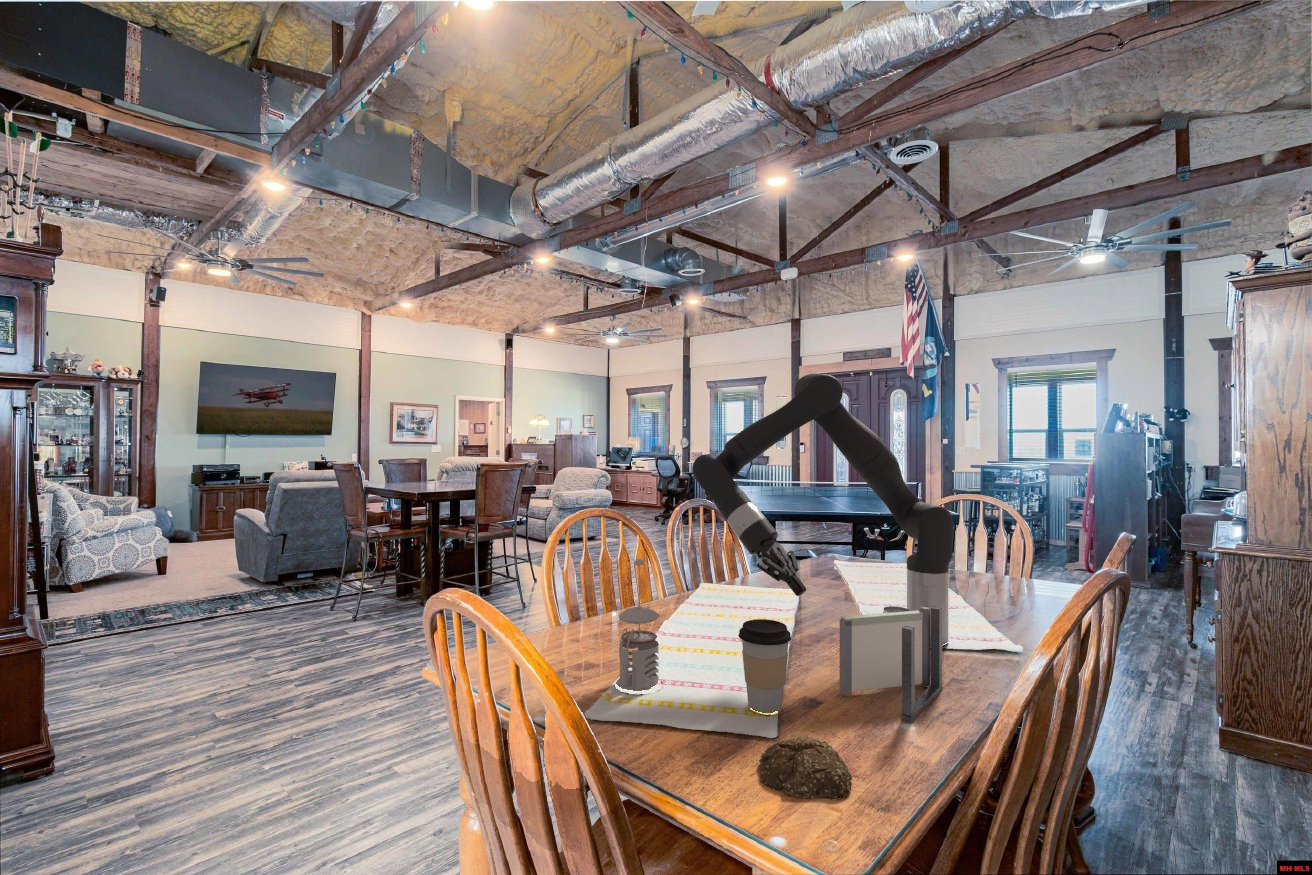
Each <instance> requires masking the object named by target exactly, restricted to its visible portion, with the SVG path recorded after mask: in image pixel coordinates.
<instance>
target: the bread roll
mask: <svg viewBox="0 0 1312 875" xmlns="http://www.w3.org/2000/svg"><path fill="white" fill-rule="evenodd" d="M759 764H760V768H761V772H760V780H761V782H762V784H764V785H765V786H766V787H769V788H770V789H773V790H775V791H778V792H779V791H782V792H784V793H785V795H787V796H790V797H792V796H793V797H792V798H797V797H798V798H797V799H799V798H801V799H804V798H805V800H815V799H829V800H832V799H838V798H840V797H843V798H845V796H846V797H847V796H849V794H850V793H851V791H852V786H853V783H852V779H853V775H852V774H851V772H850V771H849V767H848V766H847V764H845V761H844V760H843V758H842V756H840V754H839V752H838V751H837V750H835V748H833V745H830V744H828V742H827V741H821V740H818V739H817V738H813V737H809V736H797V737H791V738H787V739H783V740H778V741H777V742H776V743H772V744H771V745H769V746H768V747H767V748H766V749H765V750H764V752H762V753H761V756H760V759H759ZM840 799H841V798H840ZM838 800H839V799H838Z"/></svg>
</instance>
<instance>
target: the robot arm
mask: <svg viewBox="0 0 1312 875" xmlns="http://www.w3.org/2000/svg"><path fill="white" fill-rule="evenodd" d="M842 386H843V385H842V383H841V382H840V381H839V379H837V378H836V377H835V376H833V375H830V374H827V373H809V374H806V375H804V376H801V377H800V378H799V379H798V380H797V381H796V382H795V385H794V390H793V392H794V394H793V395H794V397H793V398H792V399H790V401H789V402H787V403H786V404H784V405H783V406H781V407H779V409H776V410H775V411H773V412H772V413H770V414H768V415H766V416H763V417H762V418H760V419H758V420H757V421H755V422H753V423H751V424H750V425H748V426H746V427H745V428H744V429H742V430H741V431H740V432H738V433H736V434H735V435H734V436H733V437H732V438H730V439H728V441H727V442H726V443H725V444H724V448H723V450H722V451H721V453H719V454H718V455H717V456H715V455H712V454H708V453H705V454H702V455H699V456H698V457H696V459H695V460H694V462H693V463H692V469H691V471H692V474H693V477H694V479H695V480H696V482H697V483H698V485H699V486H700V488H702V489H703V490H704V491H705V492H706V494H707V495H708V496H709V497H710V498H711V500H712V501H713V503H714V504H715V506H716V508H717V509H718V510H719V512H720V514H721V515H722V517H723V518H724V519H725V521H726V522H727V523H728V525H729V527H730V528H731V531H733V533H734V534H735V536H736V537H737V538H738V540H739V541H740V542H741V543H742V545H743V546H744V548H745V549H746V550H747V552H748V553H749V554H750V555H753V556H754V555H756V557H757V558H758V559H759V562H758V563H757V564H756V567H757V568H758V569H759V570H761V571H762V572H764V573H765V574H767V575H768V576H770V577H771V578H772V579H774V580H776V581H777V582H780V581H782V583H786V584H787V586H788V587H789V589H791V591H792V592H793V593H794V595H795V596H797V597H799V596H802V595H803V594H804V593H805V592H806V591H807V588H806V587H807V586H805V584H804V583H803V582H802V581H801V579H800V578H799V577H798V575H797V574H798V571H800V568H799V564H798V561H797V558H796V555H795V552H794V550H791V549H789V551H787V550H785V549H784V546H782V545H781V544H780V543H779V542H778V541H777V540H778V536H779V533H778V532H777V530H776V529H775V528H774V527H773V525H772V524H771V523H770V521H769V520H768V518H766V516H765V515H764V514H763V513H762V511H761V510H760V508H758V507H757V506H756V505H755V504H754V503H753V502H752V500H751V499H750V498H749V497H748V495H747V494H746V493H745V492H744V491H743V489H741V487H740V486H739V485H738V484H737V482H735V480H734V478H735V477H736V476H737V475H738V473H740V472H741V470H742V469H743V468H744V467H745V466H747V465H748V464H749V463H751V462H752V461H754V460H756V459H757V458H758V457H759V456H760V455H762V454H763V453H765V452H766V451H767V450H768V449H770V448H772V447H773V446H774V445H775V444H777V443H779V442H780V441H781V440H782V439H784V438H785V437H786V436H789V435H790V434H791V433H793V432H794V431H797V429H799V428H801V427H803V426H804V425H806V424H808V423H810V422H812V421H814V422H816V424H817V425H818V426H820V427H821V429H822V430H823V431H824V432H825V433H826V434H827V435H828V437H829V438H830V439H831V441H832V443H834V446H836V447H837V450H839V451H840V453H841V454H842V455H843V456H844V458H845V459H846V461H847V463H849V464H850V466H851V467H852V468H853V469H854V470H855V472H856V473H857V475H858V476H860V477H861V479H862V480H863V481H864V482H865V483H866V484H867V485H868V487H869V488H870V489H871V490H872V491H873V492H874V493H875V495H877V497H878V498H879V499H880V500H881V501H882V502H883V503H884V505H885V506H886V507H887V509H888V511H889V512H890V514H891V515H892V516H893V518H894V519H895V521H896V522H897V524H898V525H899V528H901V530H902V531H903V532H904V533H905V535H907V536H909V537H910V538H911V539H914V540H917V546H916V551H915V553H914V554H910V555H909V556H907V558H906V608H907V609H909V610H911V611H917V610H918V611H919V607H928V608H930V647H931V607H933V606H936V607H942V645H943V644H945V643H947V642H948V643H949V565H950V563H951V561H952V558H953V547H954V520H953V516H952V514H951V512H950V511H949V510H948V509H947V508H946V507H944V506H942V505H938V504H933V503H926V502H924V501H922V500H921V499H920V498H918V496H917V495H916V494H915V493H914V492H913V491H912V490H911V489H910V488H909V487H908V485H907V484H906V482H905V480H904V478H903V475H902V471H901V467H900V464H899V461H898V459H897V457H896V456H895V455H894V453H893V452H892V451H891V450H890V448H889V447H888V446H887V444H885V442H884V441H883V440H882V438H881V437H880V436H878V435H877V434H876V433H875V432H874V431H873V430H871V429H870V428H869V427H868V426H867V425H865V424H864V423H863V422H862V421H860V419H857V418H856V417H855V416H854V415H853V414H852V413H851V412H849V410H847V408H846V407H845V406H844V404H843V403H842V402H841V401H842V398H843V394H844V393H843V387H842Z"/></svg>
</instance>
